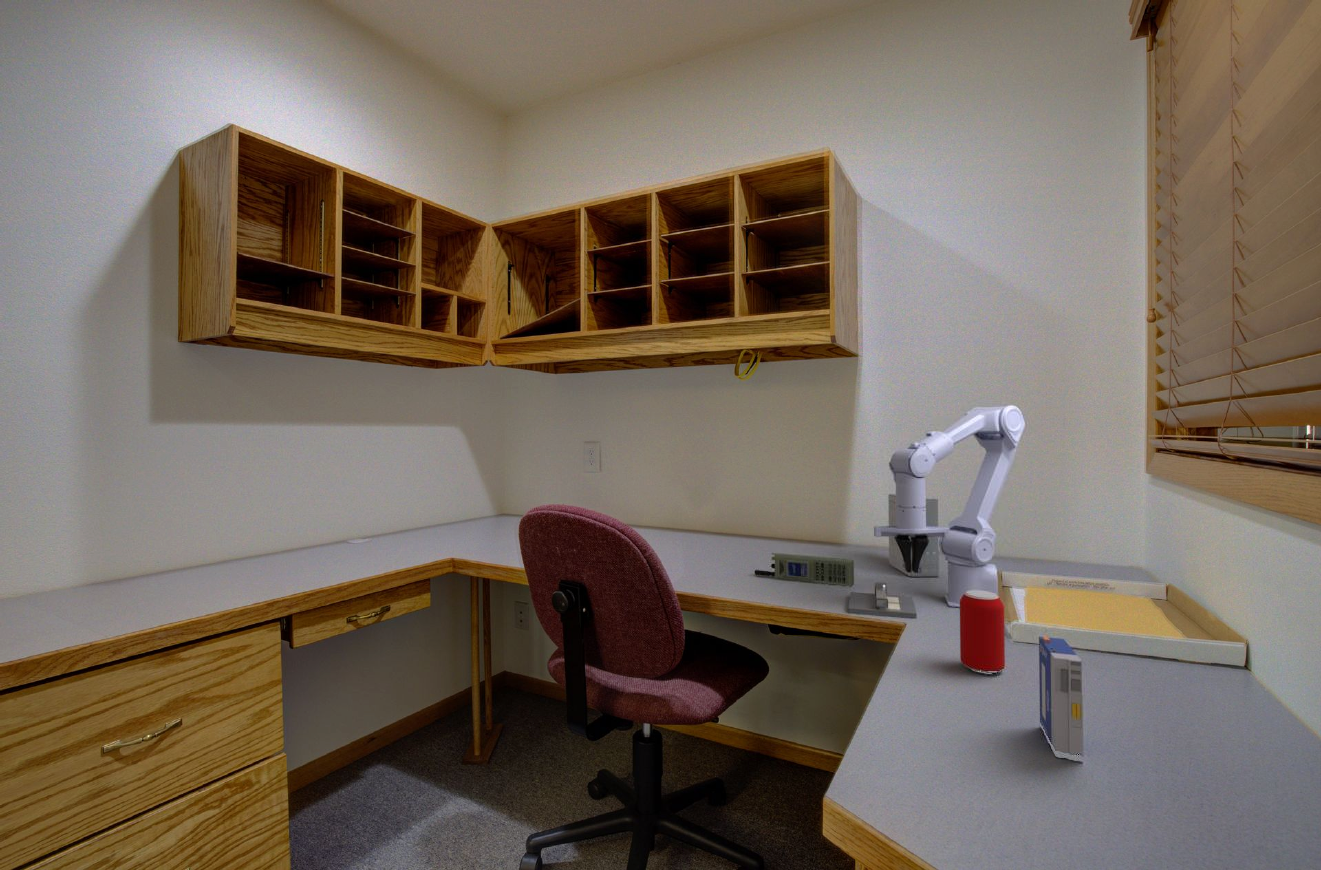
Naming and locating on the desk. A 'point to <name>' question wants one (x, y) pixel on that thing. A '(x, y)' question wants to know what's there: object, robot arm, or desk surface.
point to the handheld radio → (811, 569)
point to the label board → (867, 605)
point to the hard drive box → (931, 553)
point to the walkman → (1061, 695)
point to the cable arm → (881, 595)
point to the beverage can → (982, 631)
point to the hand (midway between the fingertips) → (911, 571)
